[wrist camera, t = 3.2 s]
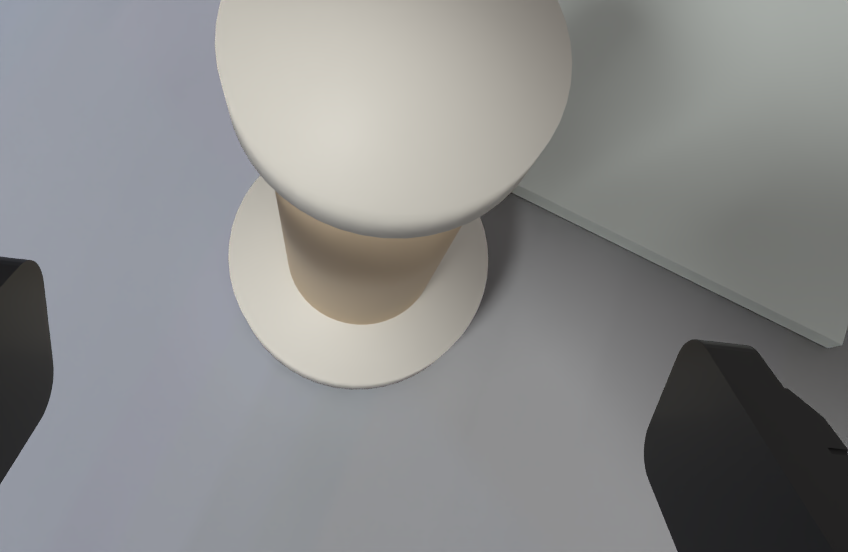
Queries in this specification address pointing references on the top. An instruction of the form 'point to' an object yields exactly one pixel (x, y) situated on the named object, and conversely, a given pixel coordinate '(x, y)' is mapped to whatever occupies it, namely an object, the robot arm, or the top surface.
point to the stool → (379, 168)
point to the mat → (712, 147)
